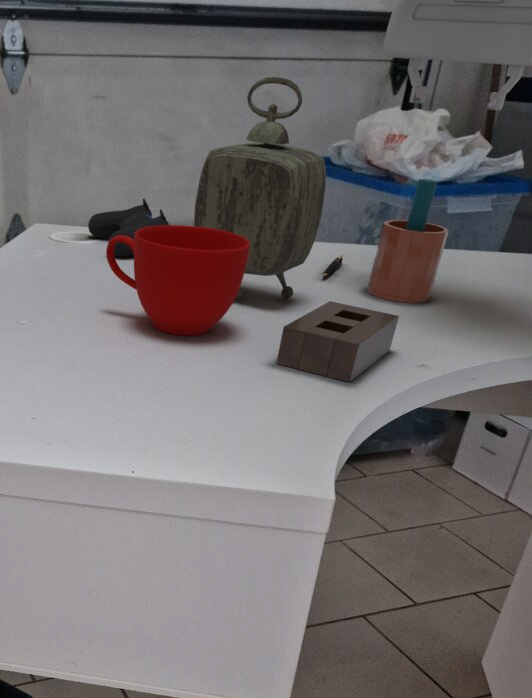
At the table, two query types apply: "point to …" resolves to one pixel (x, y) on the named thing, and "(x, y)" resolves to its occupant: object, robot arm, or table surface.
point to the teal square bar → (421, 205)
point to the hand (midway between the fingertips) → (454, 106)
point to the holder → (337, 340)
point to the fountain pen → (333, 266)
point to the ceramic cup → (184, 274)
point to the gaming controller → (124, 225)
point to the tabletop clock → (265, 193)
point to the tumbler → (406, 262)
